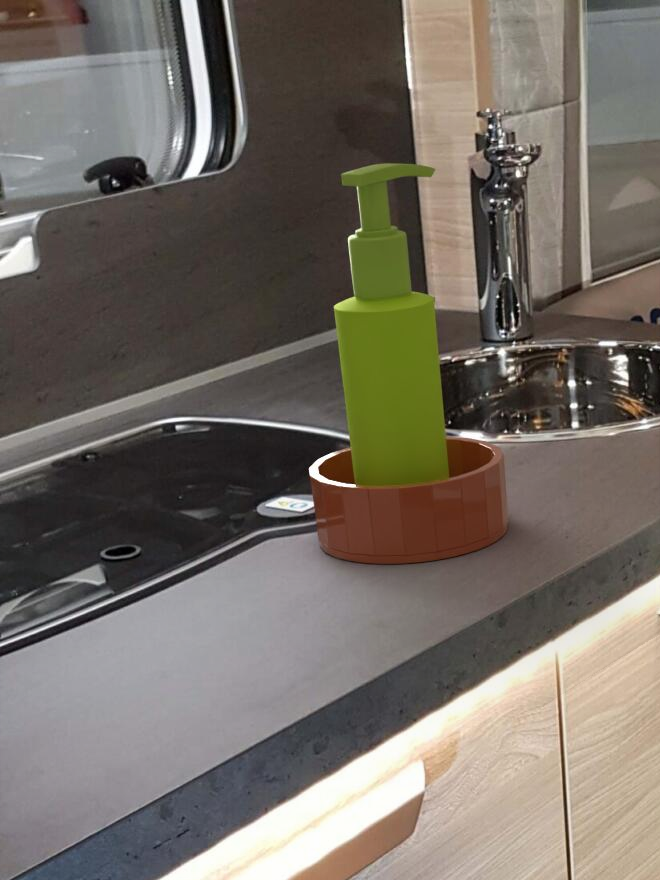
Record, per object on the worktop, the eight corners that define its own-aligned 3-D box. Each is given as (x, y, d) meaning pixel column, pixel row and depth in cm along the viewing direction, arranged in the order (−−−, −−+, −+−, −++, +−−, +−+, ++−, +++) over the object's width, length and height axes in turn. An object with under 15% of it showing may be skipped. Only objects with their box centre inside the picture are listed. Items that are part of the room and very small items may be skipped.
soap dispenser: (484, 519, 98) (457, 159, 86) (399, 547, 94) (359, 175, 83) (426, 504, 101) (393, 157, 90) (342, 530, 98) (297, 172, 87)
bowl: (296, 565, 94) (285, 490, 92) (346, 508, 104) (337, 439, 101) (489, 562, 92) (483, 485, 89) (521, 504, 102) (517, 433, 99)
